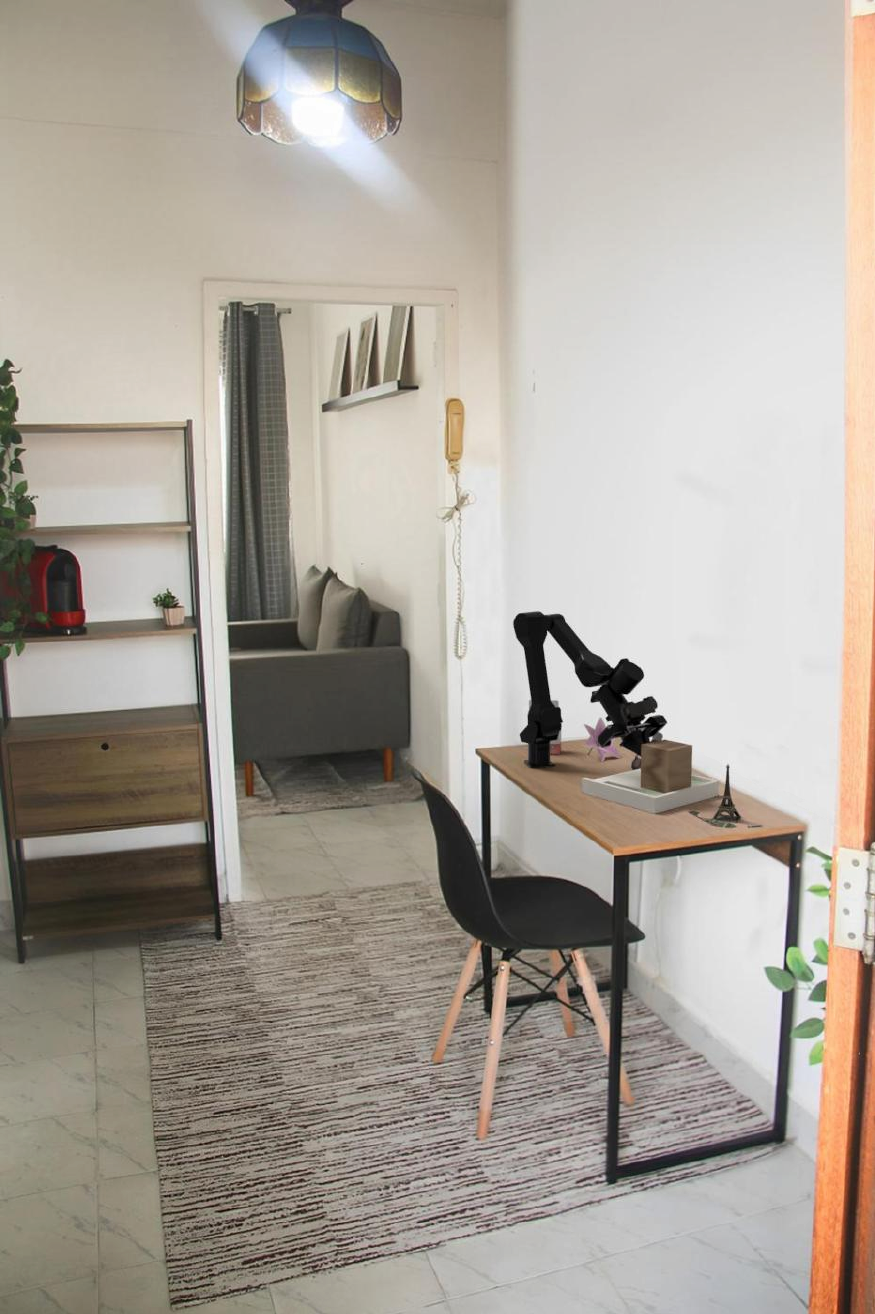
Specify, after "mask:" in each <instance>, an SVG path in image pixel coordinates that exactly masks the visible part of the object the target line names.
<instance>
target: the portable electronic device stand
mask: <svg viewBox="0 0 875 1314" xmlns="http://www.w3.org/2000/svg"><path fill="white" fill-rule="evenodd" d="M660 740H663V733H662V732H660V731H659V732H658V733H657V734H656V735H655V736H653V737H651V739H650V743H651V742H656V741H660ZM630 768H631V771H632V770H636V769H640V768H641V757H640V758H639V755H637V754H635V756H634V759H633V760H632V761H631V765H630Z"/></svg>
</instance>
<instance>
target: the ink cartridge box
mask: <svg viewBox="0 0 875 1314" xmlns="http://www.w3.org/2000/svg"><path fill="white" fill-rule="evenodd" d="M551 702H552V703H553V704H554V706H555V707H560V706H559V705H560V704H559V700H556V699H555V700H553V699H551ZM531 704H532V702H531V699H529V701H528V711H527V713H528V712H529V710H530V707H531ZM561 752H562V729H561V730H560V731H559V735H558V738H557V740H553V741H550V755H560V753H561Z"/></svg>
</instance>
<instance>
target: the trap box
mask: <svg viewBox="0 0 875 1314" xmlns="http://www.w3.org/2000/svg"><path fill="white" fill-rule="evenodd" d="M719 786H720V780H717V779H712V778H709V777H704V776H699V775H695V774H691V787H688V788H684V789H680V790H677V791H673V792H669V793H665V794H664V793H660V792H656V791H652V790H649V789H645V788H641V767H640V768H639V769H636V770H632V769H631V770H628V771H624V772H619V773H615V774H611V775H608V776H604V777H603V776H602V777H599V778H596V779H592V778H588V777H582V778H581V790H582V791H581V793H582V794H585V795H588V796H592V797H595V798H599V799H602V800H606V801H609V802H613V803H616V804H620V805H623V806H626V807H630V808H634V809H637V810H641V811H645V812H647V813H651V814H654V815H656V814H659V813H663V812H665V811H670V810H672V809H676V808H681V807H683V806H688V805H691V804H694V803H698V802H702V801H704V800H708V799H713V798H716V797H718V795H719V793H720V792H719V791H720V790H719V789H720V787H719ZM715 796H716V797H715Z"/></svg>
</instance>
